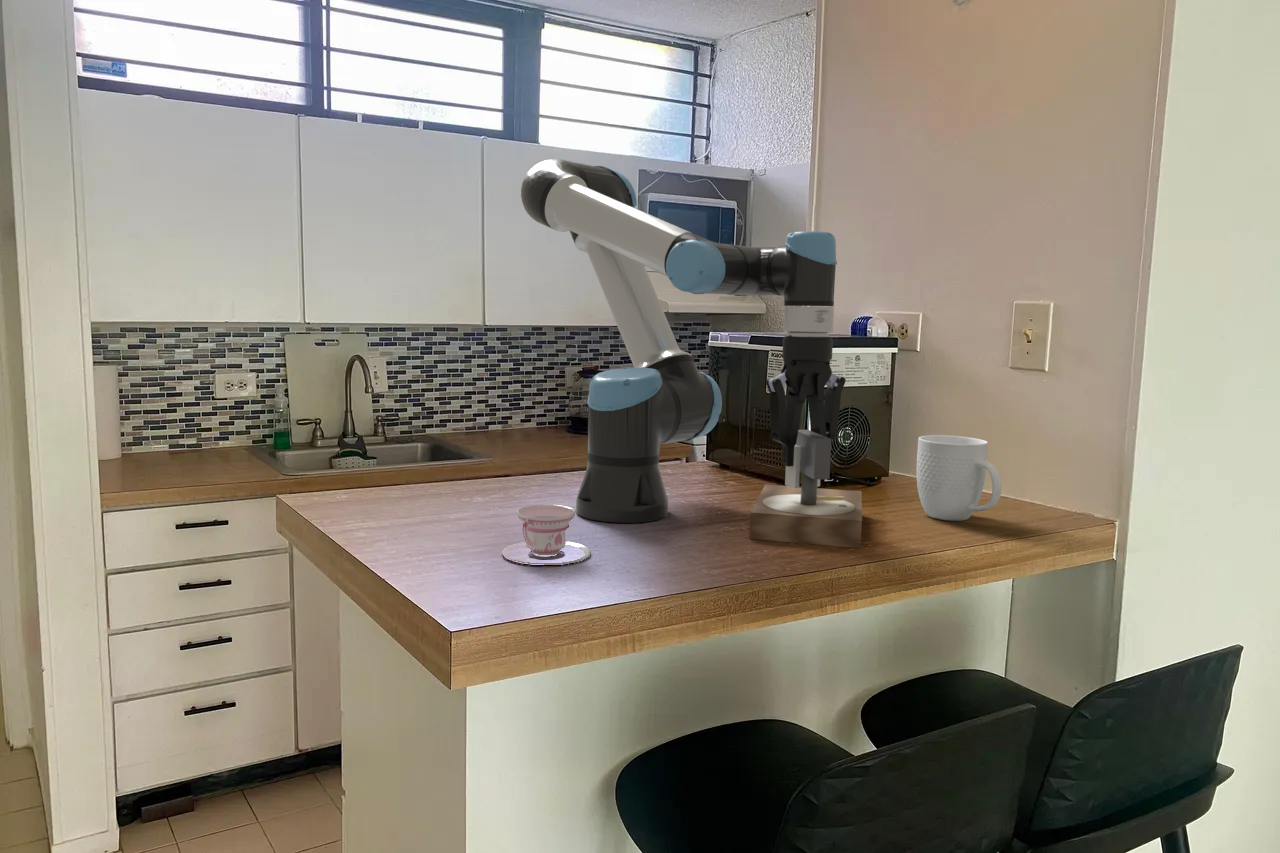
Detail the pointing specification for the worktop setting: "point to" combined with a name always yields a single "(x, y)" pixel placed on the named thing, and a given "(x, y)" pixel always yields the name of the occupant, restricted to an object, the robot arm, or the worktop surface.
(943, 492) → the mug
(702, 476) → the worktop surface
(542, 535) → the teacup
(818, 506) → the tuner board
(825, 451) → the peg knob
